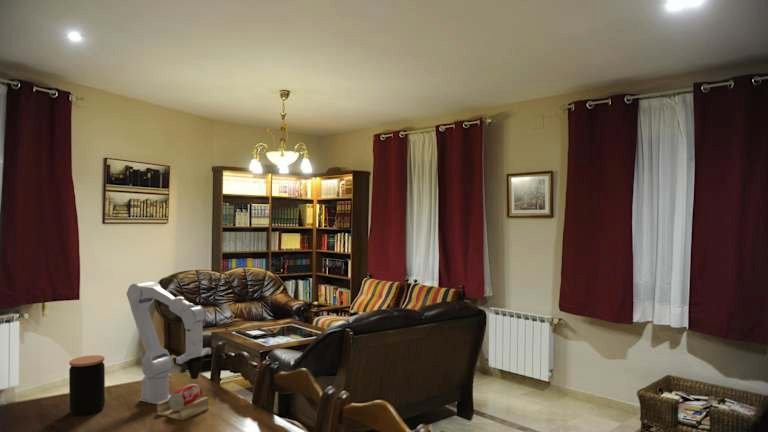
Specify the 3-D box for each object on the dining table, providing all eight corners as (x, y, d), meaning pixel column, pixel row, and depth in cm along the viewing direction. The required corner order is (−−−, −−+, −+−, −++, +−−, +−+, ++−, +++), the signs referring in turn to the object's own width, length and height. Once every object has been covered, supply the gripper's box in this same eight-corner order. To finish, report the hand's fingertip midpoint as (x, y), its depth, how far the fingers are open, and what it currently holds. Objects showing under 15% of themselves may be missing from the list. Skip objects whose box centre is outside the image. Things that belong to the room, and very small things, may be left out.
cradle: (156, 414, 174) (156, 403, 174) (183, 402, 185) (183, 392, 185) (182, 420, 169) (182, 408, 169) (208, 408, 180) (208, 397, 180)
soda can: (207, 395, 184) (189, 405, 172) (192, 406, 184) (173, 417, 173) (197, 378, 185) (178, 388, 173) (182, 389, 185) (162, 399, 174)
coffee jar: (111, 407, 180) (111, 357, 180) (82, 418, 171) (82, 365, 171) (91, 403, 185) (91, 353, 185) (62, 413, 175) (62, 361, 175)
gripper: (186, 346, 173) (186, 386, 173) (217, 337, 186) (217, 374, 186) (171, 344, 176) (171, 383, 176) (203, 335, 189) (203, 371, 190)
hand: (194, 378), depth 182 cm, fingers closed
